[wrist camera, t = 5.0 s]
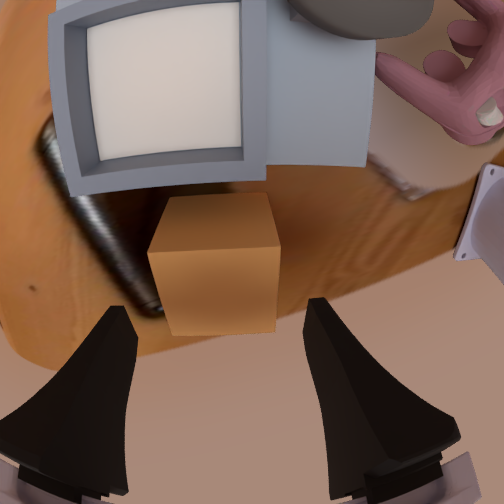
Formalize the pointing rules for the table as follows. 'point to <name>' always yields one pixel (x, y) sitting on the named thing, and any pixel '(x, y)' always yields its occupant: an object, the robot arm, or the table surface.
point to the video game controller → (458, 76)
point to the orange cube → (217, 264)
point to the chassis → (202, 92)
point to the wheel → (365, 16)
